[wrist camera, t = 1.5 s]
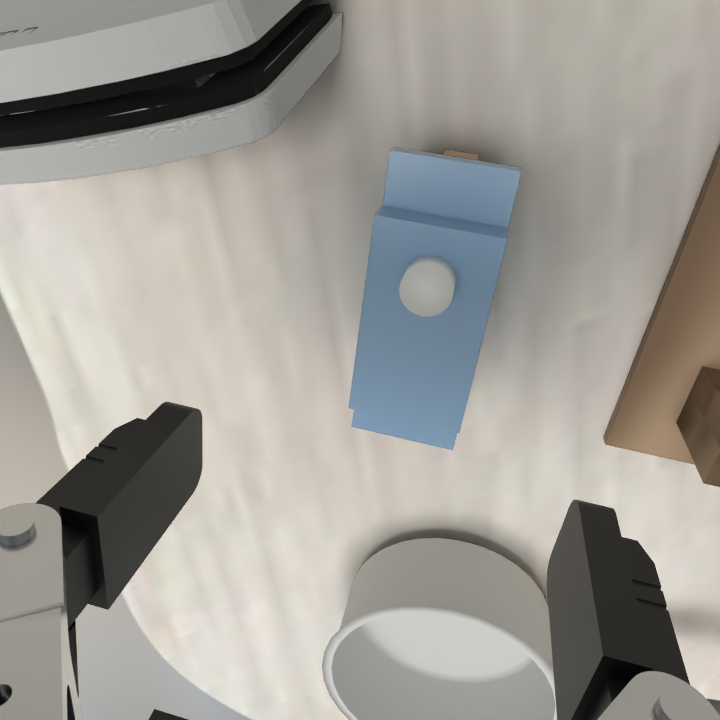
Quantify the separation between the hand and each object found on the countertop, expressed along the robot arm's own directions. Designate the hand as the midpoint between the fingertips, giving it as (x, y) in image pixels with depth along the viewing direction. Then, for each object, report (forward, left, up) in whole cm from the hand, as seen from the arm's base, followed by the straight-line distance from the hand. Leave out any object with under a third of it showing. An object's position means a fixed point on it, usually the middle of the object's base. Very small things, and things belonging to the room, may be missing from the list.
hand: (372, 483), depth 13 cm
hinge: (-7, -13, -14) cm, 20 cm away
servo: (0, 0, -14) cm, 14 cm away
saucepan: (+17, +8, -14) cm, 24 cm away
